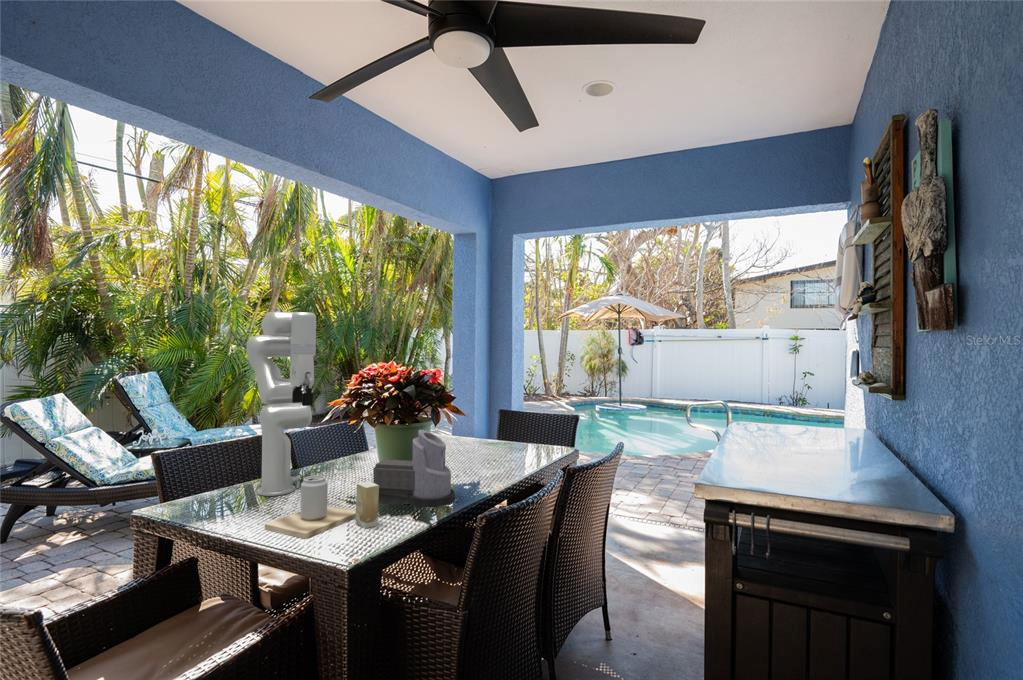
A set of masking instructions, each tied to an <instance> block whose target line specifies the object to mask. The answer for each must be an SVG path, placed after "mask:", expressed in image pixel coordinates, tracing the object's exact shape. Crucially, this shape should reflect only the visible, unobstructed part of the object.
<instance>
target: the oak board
mask: <svg viewBox="0 0 1023 680" xmlns="http://www.w3.org/2000/svg"><path fill="white" fill-rule="evenodd" d="M354 519H355V520H356V509H348V508H345V507H344V508H343V507H339V506H335V505H328V504H327V515H325V516H324V518H322V519H319V520H313V521H309V520H304V519H303V518H302V517H301V511H297V512H295V513H292V514H290V515H287V516H284V517H281V518H278V519H276V520H272V521H270V522H268V523H265V524H264V530H266V531H269V532H274V533H277V534H282V535H287V536H291V537H295V538H299V539H304V540H306V539H309V538H311V537H313V536H316V535H318V534H321V533H323V532H326V531H328V530H331V529H333V528H335V527H337V526H340V525H343V524H345V523H347V522H350V521H351V520H352V521H353V520H354Z"/></svg>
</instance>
